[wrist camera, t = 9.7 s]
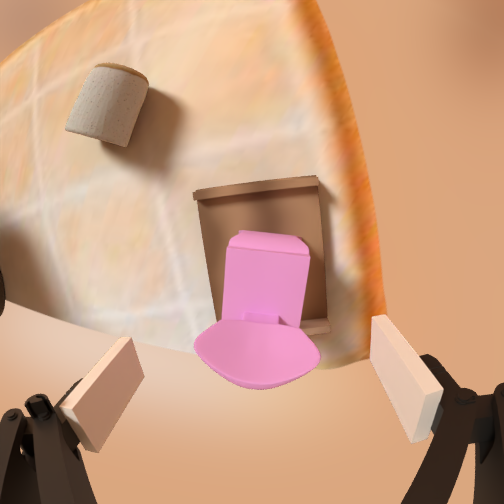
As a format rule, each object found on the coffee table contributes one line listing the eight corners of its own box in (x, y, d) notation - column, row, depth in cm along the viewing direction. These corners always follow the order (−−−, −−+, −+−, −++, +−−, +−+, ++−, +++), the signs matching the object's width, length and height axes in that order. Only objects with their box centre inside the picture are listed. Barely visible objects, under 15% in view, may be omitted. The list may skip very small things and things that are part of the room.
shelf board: (222, 328, 34) (216, 344, 31) (200, 189, 31) (190, 190, 27) (325, 318, 33) (330, 334, 29) (313, 175, 30) (319, 174, 26)
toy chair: (312, 233, 29) (347, 279, 15) (300, 314, 31) (316, 409, 17) (229, 224, 30) (186, 261, 15) (223, 306, 32) (185, 394, 17)
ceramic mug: (162, 84, 29) (133, 61, 21) (138, 150, 30) (101, 143, 23) (94, 75, 29) (59, 57, 21) (73, 134, 31) (33, 127, 23)
